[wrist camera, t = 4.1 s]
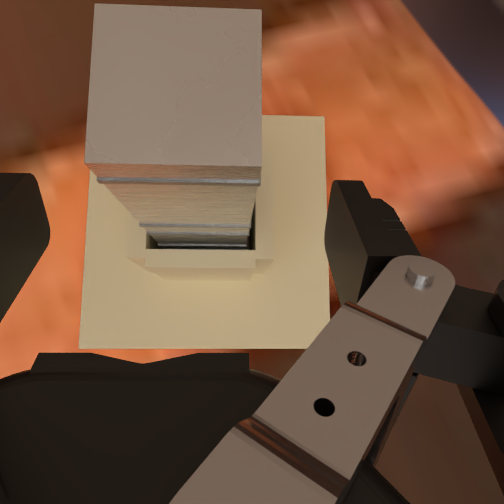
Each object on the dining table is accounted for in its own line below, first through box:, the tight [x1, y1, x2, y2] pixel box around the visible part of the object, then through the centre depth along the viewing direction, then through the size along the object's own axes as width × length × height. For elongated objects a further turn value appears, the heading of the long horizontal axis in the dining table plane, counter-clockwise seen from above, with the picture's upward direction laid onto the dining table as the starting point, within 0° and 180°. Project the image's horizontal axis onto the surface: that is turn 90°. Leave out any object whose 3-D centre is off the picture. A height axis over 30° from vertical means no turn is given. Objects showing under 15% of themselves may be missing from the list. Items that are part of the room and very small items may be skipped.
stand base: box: [79, 115, 330, 349], centre depth 23 cm, size 14×14×8 cm
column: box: [84, 4, 262, 250], centre depth 18 cm, size 4×4×15 cm
